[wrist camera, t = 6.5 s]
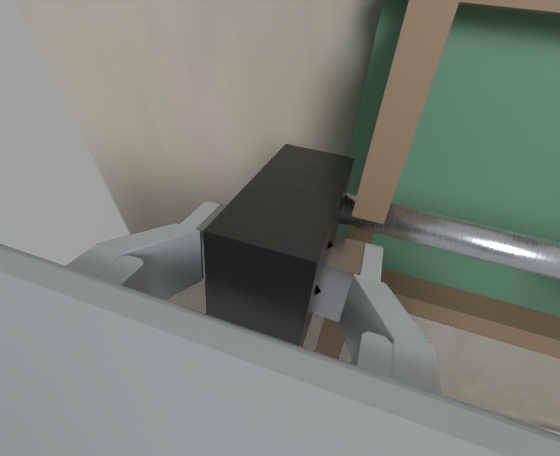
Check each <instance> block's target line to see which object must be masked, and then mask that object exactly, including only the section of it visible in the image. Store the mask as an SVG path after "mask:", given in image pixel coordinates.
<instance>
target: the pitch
mask: <svg viewBox="0 0 560 456" xmlns="http://www.w3.org/2000/svg"><path fill="white" fill-rule="evenodd" d="M348 157H350V158H354V164H353V168H352V172H351V176H350V180H349V184H348V188H347V192H346V193H350V194H354V195H357V197H356V201H355V205H354V208H353V212H352V217H356V218H360V219H364V220H369V221H373V222H377V223H381V224H384V222H385V219H386V216H387V213H388V210H389V208H390V205H391V203H393V204H397V205H401V206H406V207H410V208H414V209H419V210H423V211H427V212H431V213H436V214H440V215H444V216H449V217H453V218H457V219H461V220H466V221H470V222H474V223H479V224H483V225H487V226H491V227H496V228H500V229H504V230H509V231H513V232H517V233H521V234H526V235H530V236H534V237H539V238H543V239H547V240H551V241H556V242H560V0H383V5H382V9H381V13H380V18H379V22H378V26H377V31H376V35H375V39H374V44H373V48H372V52H371V57H370V61H369V65H368V70H367V74H366V78H365V83H364V87H363V91H362V96H361V100H360V104H359V109H358V113H357V118H356V122H355V126H354V131H353V135H352V139H351V144H350V148H349V152H348ZM336 235H337V236H341V237H345V238H349V239H354V240H358V241H362V242H367V243H371V244H376V245H380V246H383V259H382V271H381V282H383V283H386V284H387V286H388V287H389V288H390V290H391V291H392V292H393V294H394V295H395V296H396V298H397V299H398V301H399V302H400V303H401V305H402V306H403V307H404V309H405V310H406V311H407V313H408V314H412V315H415V316H418V317H422V318H425V319H429V320H432V321H435V322H439V323H442V324H445V325H449V326H452V327H455V328H459V329H462V330H466V331H469V332H472V333H476V334H479V335H482V336H486V337H489V338H492V339H496V340H499V341H503V342H506V343H509V344H513V345H516V346H519V347H523V348H526V349H529V350H533V351H536V352H540V353H543V354H546V355H550V356H553V357H556V358H560V280H559V279H555V278H551V277H548V276H544V275H540V274H536V273H532V272H528V271H524V270H520V269H516V268H512V267H508V266H504V265H500V264H496V263H492V262H488V261H484V260H481V259H477V258H473V257H469V256H465V255H461V254H457V253H453V252H449V251H445V250H441V249H437V248H433V247H429V246H425V245H421V244H417V243H414V242H410V241H406V240H402V239H398V238H394V237H390V236H386V235H382V234H378V233H374V232H370V231H366V230H362V229H358V228H354V227H350V226H347V225H343V224H339V225H338V229H337V233H336ZM344 340H345V339H344V336H343V334H342V331H341V328H340V326H339V322H337V321H334V320H331V319H328V318H325V317H324V321H323V325H322V328H321V332H320V336H319V340H318V343H317V347H316V351H315V352H318V353H321V354H324V355H327V356H330V357H333V358H335V359H338V358H339V355H340V352H341V349H342V346H343V343H344Z"/></svg>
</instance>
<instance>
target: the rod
mask: <svg viewBox="0 0 560 456" xmlns="http://www.w3.org/2000/svg"><path fill="white" fill-rule="evenodd" d="M353 164H354V158H350V157H345V156H340V155H335V154H331V153H326V152H321V151H316V150H312V149H307V148H302V147H297V146H293V145H288V144H285V145H284V146H283V147H282V149H281V150H280V151H279V152H278V153H277V154H276V155H275V156H274V157H273V158H272V159H271V160H270V161H269V162H268V163H267V164H266V165H265V166H264V167H263V168H262V169H261V171H260V172H259V173H258V174H257V175H256V176H255V177H254V178H253V179H252V180H251V181H250V182H249V183H248V184H247V185H246V186H245V187H244V188H243V189H242V190H241V191H240V193H239V194H238V195H237V196H236V197H235V198H234V199H233V200H232V201H231V202H230V203H229V204H228V205H227V206H226V207H225V208H224V209H223V210H222V211H221V212H220V213H219V214H218V216H217V217H216V218H215V219H214V220H213V221H212V222H211V223H210V224H209V225H208V226H207V227H206V228H205V229H204V230H203V239H204V263H205V287H206V312H207V315H210V316H213V317H216V318H219V319H222V320H225V321H228V322H231V323H234V324H236V325H239V326H242V327H245V328H248V329H251V330H254V331H257V332H260V333H263V334H266V335H269V336H272V337H274V338H277V339H280V340H283V341H286V342H289V343H292V344H295V345H298V346H301V347H302V346H303V343H304V340H305V337H306V333H307V330H308V327H309V324H310V321H311V317H312V314H313V313H311V309H312V305H313V300H314V296H315V293H316V290H317V287H318V285H317V283H318V278H319V274H320V270H321V265H322V262H323V259H324V256H325V253H326V250H327V249H328V246H329V241H330V238H331V235H332V234H333V235H336V233H337V229H338V225H339V224H343V225H347V226H350V227H354V228H358V229H362V230H366V231H370V232H374V233H378V234H382V235H386V236H390V237H394V238H398V239H402V240H406V241H410V242H414V243H417V244H421V245H425V246H429V247H433V248H437V249H441V250H445V251H449V252H453V253H457V254H461V255H465V256H469V257H473V258H477V259H481V260H484V261H488V262H492V263H496V264H500V265H504V266H508V267H512V268H516V269H520V270H524V271H528V272H532V273H536V274H540V275H544V276H548V277H551V278H555V279H559V280H560V242H556V241H551V240H547V239H543V238H539V237H534V236H530V235H526V234H521V233H517V232H513V231H509V230H504V229H500V228H496V227H491V226H487V225H483V224H479V223H474V222H470V221H466V220H461V219H457V218H453V217H449V216H444V215H440V214H436V213H431V212H427V211H423V210H419V209H414V208H410V207H406V206H401V205H397V204H393V203H391V205H390V208H389V210H388V213H387V216H386V219H385V222H384V224H381V223H377V222H373V221H369V220H364V219H360V218H356V217H352V212H353V208H354V205H355V201H356V197H357V195H354V194H350V193H346V192H347V188H348V184H349V180H350V176H351V172H352V168H353Z"/></svg>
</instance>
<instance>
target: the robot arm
mask: <svg viewBox="0 0 560 456" xmlns="http://www.w3.org/2000/svg"><path fill="white" fill-rule="evenodd" d="M226 206H227V205H222V204H220V203H216V202H212V201H205V202H204V203H203V204H202V205H201V206H199V207H198V208H197V209H196V210H195V211H194V212H193V213H192V214H190V215H189V216H188V217H187V218H186V219H185V220H184V221H183V222H182V223H180V224H176V223H174V224H170V225H166V226H162V227H159V228H155V229H151V230H147V231H143V232H139V233H136V234H132V235H128V236H124V237H120V238H117V239H113V240H109V241H105V242H101V243H98V244H96V245H94V246H93V247H92V248H90V249H89V250H87V251H86V252H85V253H83V254H82V255H80V256H79V257H78V258H76V259H75V260H74V261H72V262H71V263H69V264H68V265H66V266H64V265H61V264H58V263H55V262H52V261H49V260H46V259H43V258H40V257H37V256H34V255H31V254H29V253H25V252H23V251H20V250H17V249H14V248H11V247H8V246H5V245H2V244H0V456H560V435H558V434H555V433H552V432H549V431H546V430H543V429H541V428H538V427H535V426H532V425H529V424H526V423H523V422H520V421H517V420H514V419H511V418H508V417H505V416H503V415H500V414H497V413H494V412H491V411H488V410H485V409H482V408H479V407H476V406H473V405H470V404H467V403H464V402H462V401H459V400H456V399H453V398H450V397H447V396H444V395H441V390H440V380H439V369H438V359H437V352H436V350H435V349H434V348H433V346H432V345H431V344H430V342H429V341H428V340H427V338H426V337H425V335H424V334H423V333H422V331H421V330H420V329H419V327H418V326H417V325H416V323H415V322H414V321H413V319H412V318H411V317H410V315H409V314H408V313H407V311H406V310H405V309H404V307H403V306H402V305H401V303H400V302H399V301H398V299H397V298H396V296H395V295H394V294H393V292H392V291H391V290H390V288H389V287H388V286H387V284H386V283H383V282H381V271H382V259H383V246H380V245H376V244H371V243H367V242H362V241H358V240H354V239H349V238H345V237H341V236H337V235H333V234H332V235H331V238H330V241H329V246H328V249H327V250H326V253H325V256H324V259H323V262H322V265H321V270H320V274H319V278H318V283H317V285H318V287H317V290H316V293H315V296H314V300H313V305H312V309H311V313H314V314H316V315H319V316H322V317H325V318H328V319H331V320H334V321H337V322H339V326H340V328H341V331H342V334H343V336H344V339H345V341H346V344H347V346H348V349H349V352H350V354H351V357H352V361H351V364H350V363H347V362H344V361H341V360H338V359H335V358H333V357H330V356H327V355H324V354H321V353H318V352H315V351H312V350H309V349H306V348H304V347H301V346H298V345H295V344H292V343H289V342H286V341H283V340H280V339H277V338H274V337H272V336H269V335H266V334H263V333H260V332H257V331H254V330H251V329H248V328H245V327H242V326H239V325H236V324H234V323H231V322H228V321H225V320H222V319H219V318H216V317H213V316H210V315H207V314H204V313H201V312H198V311H195V310H192V309H190V308H187V307H184V306H181V305H178V304H175V303H172V302H169V301H166V299H167V298H169V297H171V296H173V295H175V294H177V293H179V292H181V291H183V290H185V289H186V288H188V287H190V286H192V285H194V284H196V283H198V282H200V281H202V279H205V263H204V239H203V230H204V229H205V228H206V227H207V226H208V225H209V224H210V223H211V222H212V221H213V220H214V219H215V218H216V217H217V216H218V214H219V213H220V212H221V211H222V210H223V209H224V208H225V207H226Z"/></svg>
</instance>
